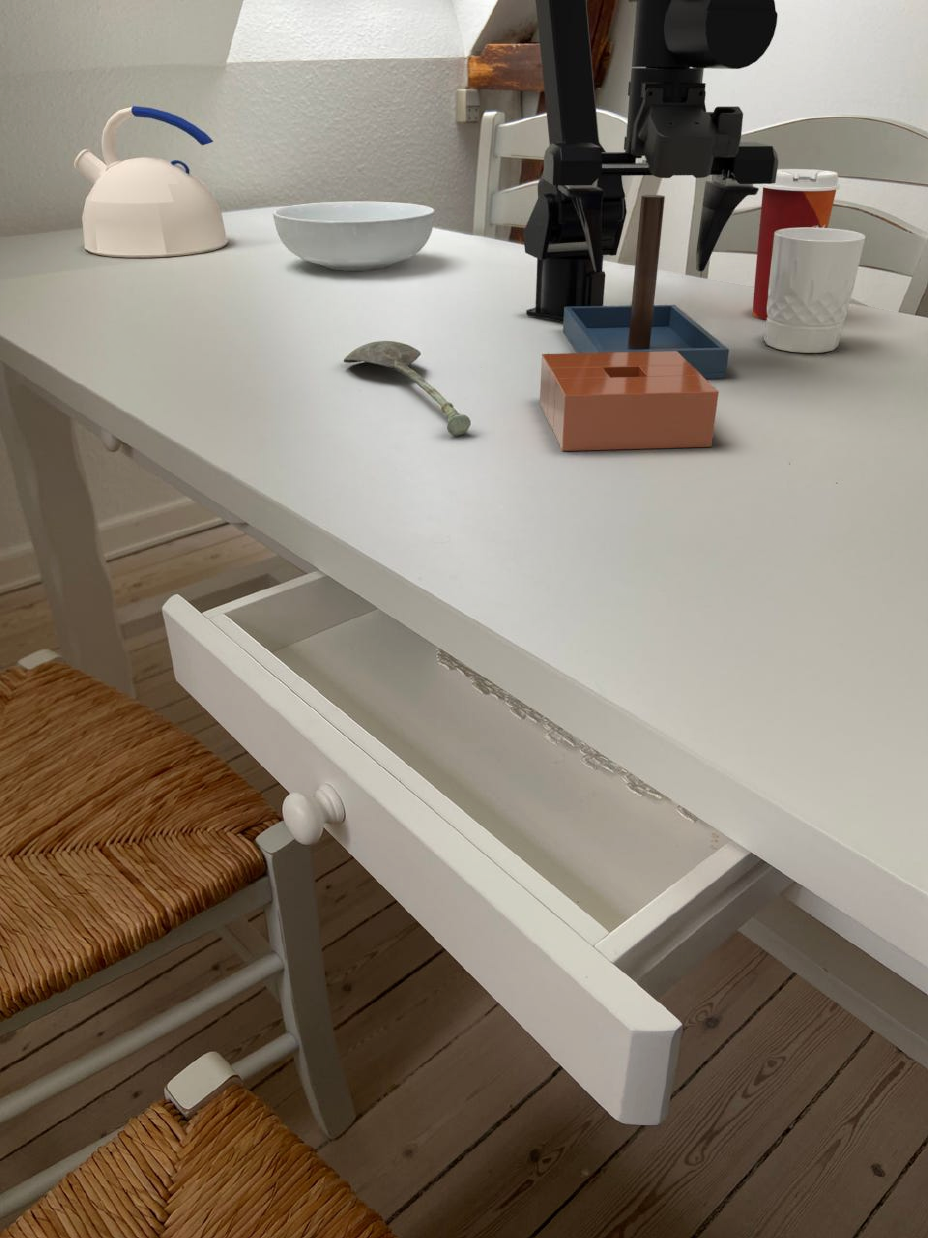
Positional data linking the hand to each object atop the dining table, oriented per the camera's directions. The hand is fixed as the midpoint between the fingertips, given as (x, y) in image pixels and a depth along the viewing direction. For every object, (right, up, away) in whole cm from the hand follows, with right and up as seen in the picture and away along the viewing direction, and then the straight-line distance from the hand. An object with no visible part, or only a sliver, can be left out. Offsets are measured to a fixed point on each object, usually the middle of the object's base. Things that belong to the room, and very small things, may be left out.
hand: (648, 271), depth 85 cm
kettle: (-61, +24, +56) cm, 86 cm away
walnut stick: (0, -5, +4) cm, 7 cm away
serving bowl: (-30, +16, +43) cm, 55 cm away
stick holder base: (-4, -16, -13) cm, 21 cm away
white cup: (+16, -5, +7) cm, 18 cm away
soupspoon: (-21, -13, -6) cm, 25 cm away
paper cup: (+17, +2, +18) cm, 25 cm away
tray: (0, -6, +5) cm, 8 cm away
